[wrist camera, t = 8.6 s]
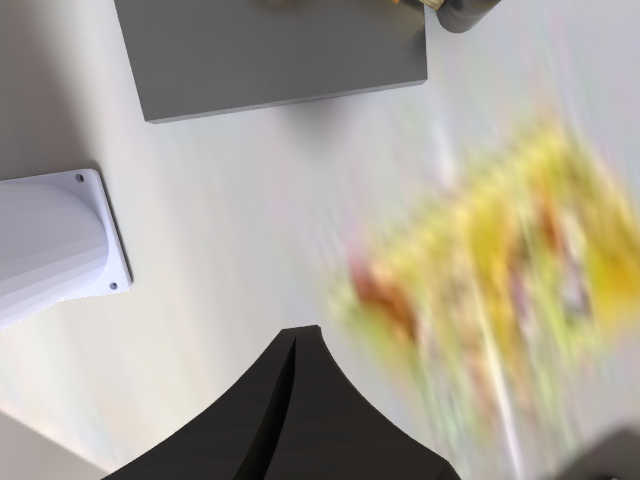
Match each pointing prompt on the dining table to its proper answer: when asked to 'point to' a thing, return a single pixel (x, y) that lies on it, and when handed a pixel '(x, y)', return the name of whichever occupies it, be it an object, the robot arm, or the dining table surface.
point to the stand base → (267, 52)
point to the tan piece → (460, 12)
